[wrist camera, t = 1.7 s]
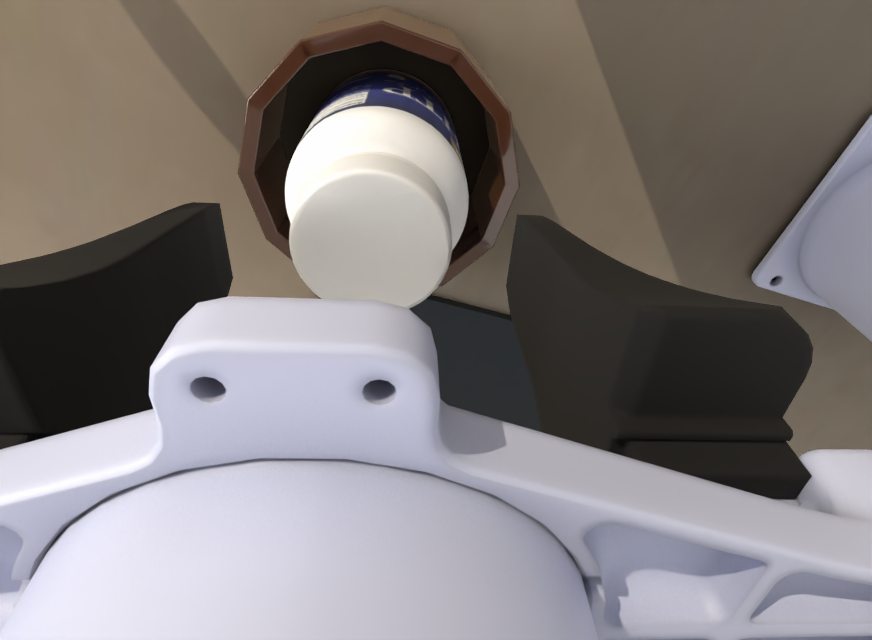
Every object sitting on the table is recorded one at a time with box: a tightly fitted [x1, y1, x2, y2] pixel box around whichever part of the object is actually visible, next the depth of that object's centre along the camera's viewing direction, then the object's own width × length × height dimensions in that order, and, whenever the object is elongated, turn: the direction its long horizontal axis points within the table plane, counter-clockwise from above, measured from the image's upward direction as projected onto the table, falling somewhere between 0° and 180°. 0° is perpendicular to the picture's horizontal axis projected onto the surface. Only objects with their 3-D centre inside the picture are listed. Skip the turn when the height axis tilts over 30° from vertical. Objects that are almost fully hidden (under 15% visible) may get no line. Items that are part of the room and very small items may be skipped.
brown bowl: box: [238, 6, 520, 286], centre depth 19 cm, size 9×9×4 cm
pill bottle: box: [285, 69, 469, 309], centre depth 17 cm, size 5×5×9 cm
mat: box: [319, 295, 541, 432], centre depth 28 cm, size 16×10×1 cm, turn 72°
